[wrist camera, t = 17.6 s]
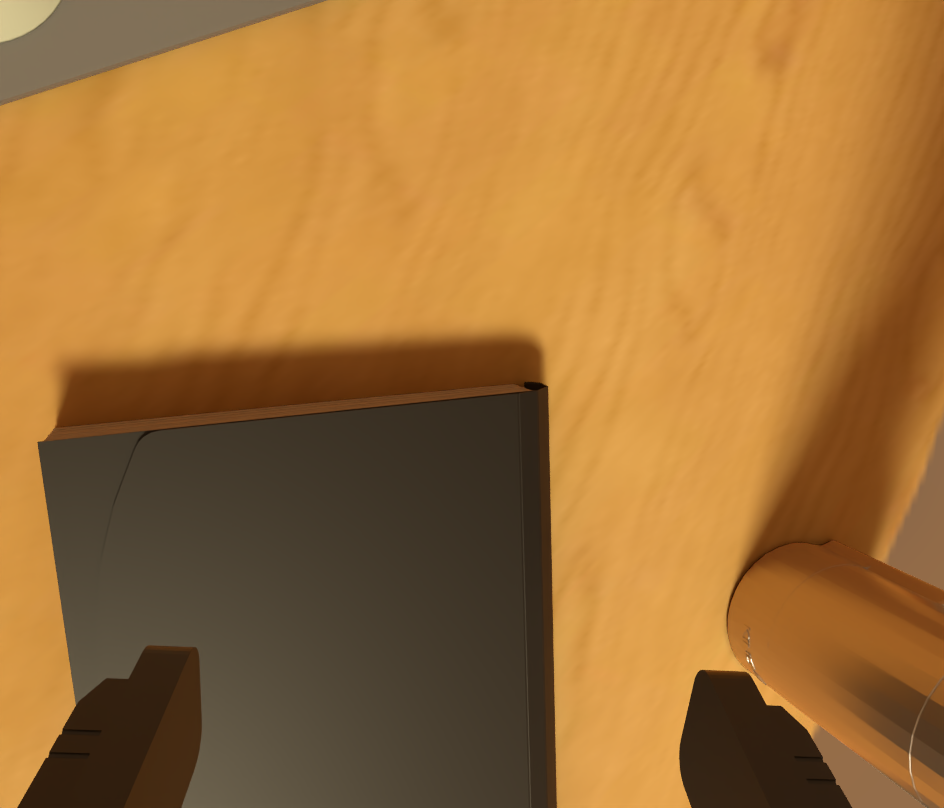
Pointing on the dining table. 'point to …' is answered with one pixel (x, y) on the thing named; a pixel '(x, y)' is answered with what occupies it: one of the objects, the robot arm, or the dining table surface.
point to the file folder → (327, 591)
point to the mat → (109, 35)
